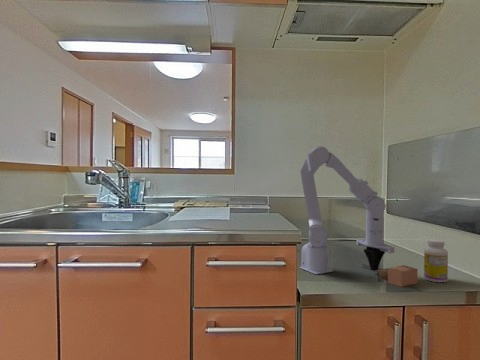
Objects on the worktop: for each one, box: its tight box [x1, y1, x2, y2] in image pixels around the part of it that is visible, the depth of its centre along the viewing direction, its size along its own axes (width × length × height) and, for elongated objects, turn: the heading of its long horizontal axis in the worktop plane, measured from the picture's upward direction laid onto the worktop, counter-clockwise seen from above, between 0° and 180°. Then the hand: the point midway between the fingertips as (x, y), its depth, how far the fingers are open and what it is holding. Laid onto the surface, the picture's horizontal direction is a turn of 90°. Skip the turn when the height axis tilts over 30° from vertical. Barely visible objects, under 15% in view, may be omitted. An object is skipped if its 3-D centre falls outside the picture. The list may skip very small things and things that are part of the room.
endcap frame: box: [361, 262, 418, 288], centre depth 112 cm, size 21×8×4 cm, turn 27°
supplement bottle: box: [423, 238, 449, 284], centre depth 107 cm, size 7×7×13 cm
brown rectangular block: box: [378, 267, 389, 282], centre depth 107 cm, size 8×4×3 cm, turn 27°
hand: (374, 269), depth 114 cm, fingers closed
